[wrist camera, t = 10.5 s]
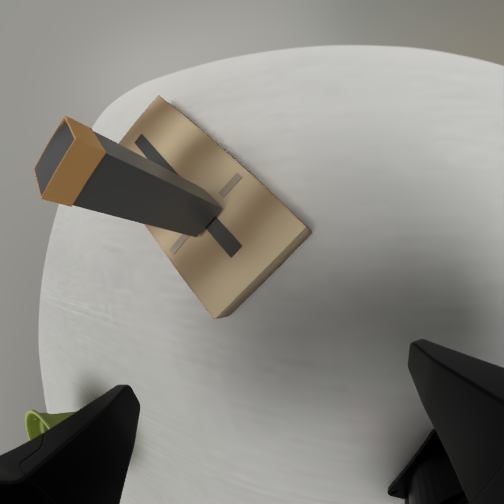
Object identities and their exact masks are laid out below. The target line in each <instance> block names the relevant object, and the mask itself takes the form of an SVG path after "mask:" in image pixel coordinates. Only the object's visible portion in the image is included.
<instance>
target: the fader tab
mask: <svg viewBox="0 0 504 504" xmlns="http://www.w3.org/2000/svg"><path fill="white" fill-rule="evenodd" d="M34 172H35V176H36V180H37V184H38V188H39V192H40V196H41V199H44V200H48V201H52V202H56V203H59V204H63V205H67V206H71V207H72V205H74V206H78V207H82V208H86V209H89V210H93V211H97V212H101V213H105V214H109V215H112V216H116V217H120V218H124V219H128V220H131V221H135V222H139V223H143V224H147V225H151V226H154V227H158V228H162V229H166V230H170V231H173V232H177V233H181V234H185V235H189V236H193V237H197V236H198V235H199V234H200V233H201V232H202V230H203V229H204V228H205V227H206V226H207V225H208V224H209V223H210V221H211V220H212V219H213V218H214V217H215V216H216V215H217V214H218V213H219V211H220V210H221V209H222V208H221V207H220V206H219V205H218V204H217V203H216V201H215V200H214V199H213V198H212V197H211V196H210V195H209V194H208V193H207V192H206V191H205V190H204V189H203V188H201V187H199V186H197V185H195V184H194V183H192V182H190V181H188V180H186V179H184V178H183V177H181V176H179V175H177V174H175V173H173V172H171V171H169V170H168V169H166V168H164V167H162V166H160V165H158V164H156V163H154V162H152V161H151V160H149V159H147V158H145V157H143V156H141V155H139V154H137V153H135V152H133V151H131V150H129V149H127V148H125V147H123V146H122V145H120V144H118V143H116V142H114V141H112V140H110V139H108V138H106V137H104V136H102V135H100V134H98V133H96V132H94V131H93V130H92V129H91V128H89V127H87V126H85V125H83V124H81V123H79V122H77V121H75V120H73V119H71V118H68V117H67V116H65V117H64V118H63V120H62V121H61V123H60V124H59V126H58V128H57V129H56V131H55V132H54V134H53V136H52V137H51V139H50V141H49V142H48V144H47V146H46V148H45V150H44V151H43V153H42V155H41V157H40V158H39V160H38V162H37V164H36V166H35V168H34Z"/></svg>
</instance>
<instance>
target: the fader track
mask: <svg viewBox="0 0 504 504" xmlns="http://www.w3.org/2000/svg"><path fill="white" fill-rule="evenodd" d="M119 144H120V145H122V146H123V147H125V148H127V149H129V150H131V151H133V152H135V153H137V154H139V155H141V156H143V157H145V158H147V159H149V160H151V161H152V162H154V163H156V164H158V165H160V166H162V167H164V168H166V169H168V170H169V171H171V172H173V173H175V174H177V175H179V176H181V177H183V178H184V179H186V180H188V181H190V182H192V183H194V184H195V185H197V186H199V187H201V188H203V189H204V190H205V191H206V192H207V193H208V194H209V195H210V196H211V197H212V198H213V199H214V200H215V201H216V203H217V204H218V205H219V206H220V207H221V208H222V209H221V210H220V211H219V213H218V214H217V215H216V216H215V217H214V218H213V219H212V220H211V221H210V223H209V224H208V225H207V226H206V227H205V228H204V229H203V230H202V232H201V233H200V234H199V235H198V236H197V237H193V236H189V235H185V234H181V233H177V232H173V231H170V230H166V229H162V228H158V227H154V226H151V225H147V224H145V225H146V227H147V228H148V230H149V231H150V233H151V234H152V236H153V237H154V239H155V240H156V241H157V243H158V244H159V246H160V247H161V249H162V250H163V251H164V253H165V254H166V256H167V257H168V258H169V260H170V261H171V263H172V264H173V265H174V267H175V268H176V269H177V271H178V272H179V274H180V275H181V276H182V278H183V279H184V280H185V282H186V283H187V284H188V286H189V287H190V288H191V290H192V291H193V292H194V294H195V295H196V296H197V298H198V299H199V300H200V301H201V303H202V304H203V305H204V307H205V308H206V309H207V310H208V312H209V313H210V314H211V316H212V317H213V318H214V319H218V318H222V317H227V316H229V315H230V314H231V313H232V312H233V311H234V310H235V309H236V308H237V307H238V306H239V305H240V304H241V303H242V302H243V301H244V300H246V299H247V298H248V297H249V296H250V295H251V294H252V293H253V292H254V291H255V290H256V289H257V288H258V287H259V286H260V285H261V284H262V283H263V282H264V281H265V280H266V279H267V278H268V277H269V276H270V275H271V274H272V273H273V272H274V271H275V270H276V269H277V268H278V267H279V266H280V265H281V264H282V263H283V262H284V261H285V260H286V259H287V258H288V257H289V256H290V255H291V254H292V253H293V252H294V251H295V250H296V249H297V248H298V247H299V246H300V245H301V243H302V242H303V241H304V240H305V239H306V238H307V237H308V236H309V235H310V234H311V233H312V232H311V231H310V230H309V229H308V228H307V227H306V226H305V225H304V224H303V223H302V222H301V221H300V220H299V219H298V218H297V217H296V216H295V215H294V214H293V213H292V212H291V211H290V210H289V209H287V208H286V207H285V206H284V205H283V204H282V203H281V202H280V201H279V200H278V199H277V198H276V197H275V196H274V195H273V194H272V193H271V192H270V191H269V190H267V189H266V188H265V187H264V186H263V185H262V184H261V183H260V182H259V181H258V180H257V179H256V178H255V177H253V176H252V175H251V174H250V173H249V172H248V171H247V170H246V169H245V168H244V167H242V166H241V165H240V164H239V163H238V162H237V161H236V160H235V159H234V158H232V157H231V156H230V155H229V154H228V153H227V152H226V151H225V150H223V149H222V148H221V147H220V146H219V145H218V144H217V143H215V142H214V141H213V140H212V139H211V138H210V137H209V136H207V135H206V134H205V133H204V132H203V131H202V130H200V129H199V128H198V127H197V126H196V125H195V124H193V123H192V122H191V121H190V120H189V119H187V118H186V117H185V116H184V115H183V114H181V113H180V112H179V111H178V110H177V109H175V108H174V107H173V106H172V105H170V104H169V103H168V102H167V101H165V100H164V99H163V98H162V97H160V96H159V95H158V96H157V98H156V99H155V100H154V101H153V102H152V103H151V104H150V105H149V107H148V108H147V109H146V110H145V111H144V113H143V114H142V115H141V116H140V117H139V119H138V120H137V121H136V122H135V123H134V125H133V126H132V127H131V128H130V130H129V131H128V132H127V134H126V135H125V136H124V137H123V139H122V140H121V141H120V143H119Z"/></svg>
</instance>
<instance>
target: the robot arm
mask: <svg viewBox="0 0 504 504" xmlns="http://www.w3.org/2000/svg"><path fill="white" fill-rule="evenodd" d="M408 368H409V371H410V373H411V376H412V378H413V381H414V383H415V386H416V388H417V391H418V393H419V396H420V399H421V401H422V404H423V406H424V408H425V410H426V412H427V414H428V416H429V418H430V420H431V422H432V424H433V426H434V428H435V429H434V430H433V431H432V432H431V433H430V435H429V436H428V438H427V439H426V441H425V442H424V444H423V445H422V446H421V448H420V449H419V451H418V452H417V453H416V455H415V456H414V457H413V459H412V460H411V461H410V463H409V464H408V465H407V466H406V468H405V469H404V470H403V471H402V473H401V474H400V475H399V476H398V478H397V479H396V480H395V481H394V482H393V483H392V485H391V486H390V487H389V488H388V494H389V495H390V496H393V497H398V498H402V499H405V504H504V368H502V367H499V366H497V365H494V364H491V363H488V362H485V361H482V360H480V359H477V358H474V357H471V356H468V355H466V354H463V353H460V352H457V351H454V350H452V349H449V348H446V347H443V346H441V345H438V344H435V343H433V342H430V341H427V340H424V339H420V340H417V341H414V342H412V343H411V344H410V350H409V359H408ZM139 413H140V403H139V401H138V399H137V397H136V395H135V394H134V392H133V390H132V388H131V387H130V386H129V385H117V386H115V387H114V388H112V389H111V390H109V391H108V392H106V393H105V394H103V395H102V396H100V397H99V398H97V399H96V400H94V401H93V402H91V403H89V404H88V405H86V406H85V407H83V408H82V409H80V410H79V411H77V412H76V413H74V414H72V415H71V416H69V417H68V418H66V419H64V420H63V421H61V422H60V423H58V424H57V425H55V426H53V427H52V428H50V429H48V430H47V431H45V433H42V434H40V435H39V436H37V437H35V438H34V439H32V440H30V441H28V442H27V443H25V444H23V445H21V446H19V447H17V448H15V449H13V450H11V451H9V452H7V453H5V454H2V455H0V504H119V503H120V499H121V495H122V491H123V486H124V482H125V478H126V474H127V471H128V467H129V463H130V459H131V455H132V452H133V448H134V443H135V437H136V431H137V425H138V419H139ZM436 434H438V436H437V437H435V435H436ZM393 490H396V491H393Z"/></svg>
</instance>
